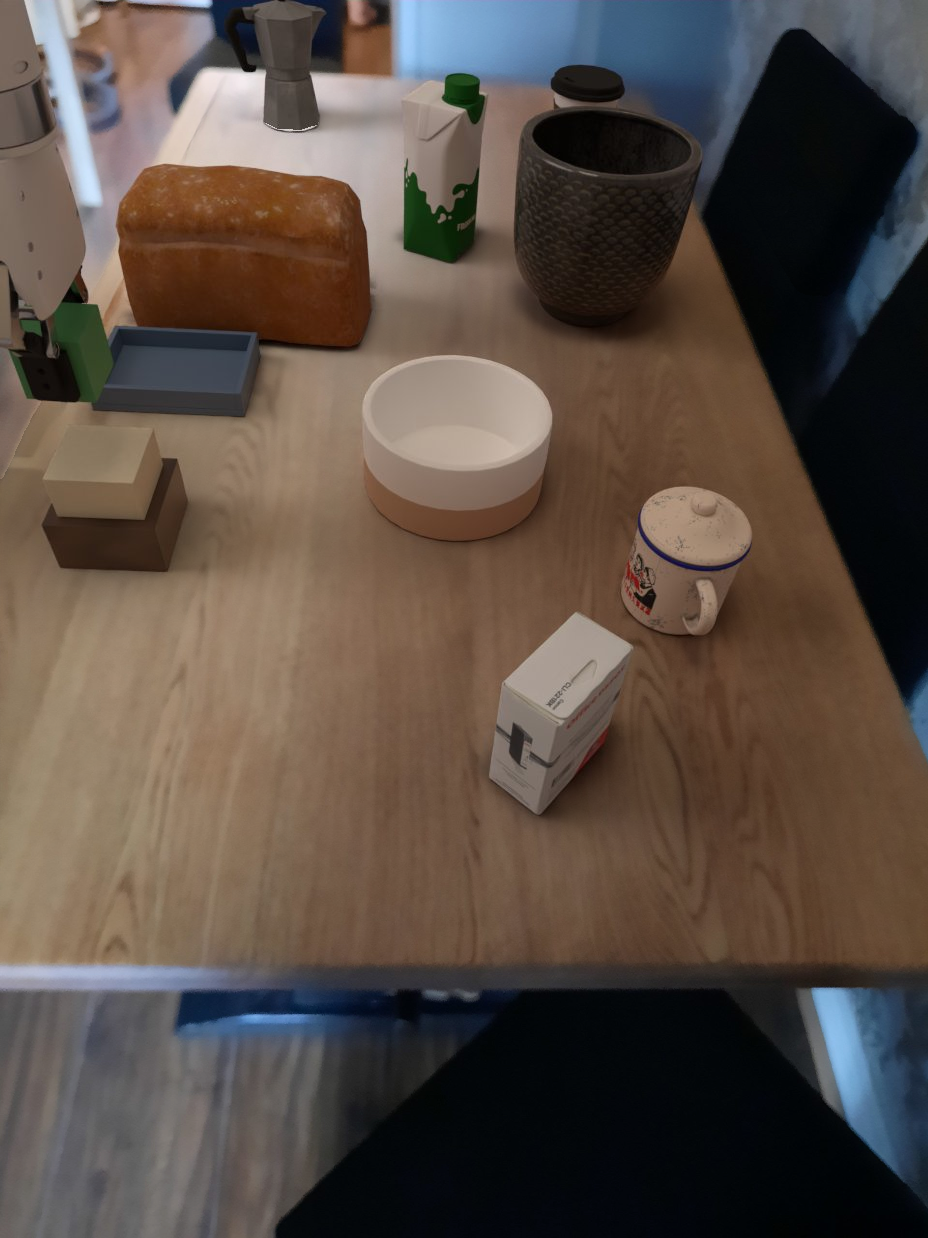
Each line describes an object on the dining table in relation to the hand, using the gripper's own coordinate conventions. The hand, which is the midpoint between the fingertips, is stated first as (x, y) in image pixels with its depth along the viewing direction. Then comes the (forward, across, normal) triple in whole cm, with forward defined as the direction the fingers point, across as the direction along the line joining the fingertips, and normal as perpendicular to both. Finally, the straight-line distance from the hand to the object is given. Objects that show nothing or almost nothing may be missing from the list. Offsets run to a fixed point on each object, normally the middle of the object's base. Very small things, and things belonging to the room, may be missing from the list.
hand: (69, 373), depth 63 cm
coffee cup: (+16, -85, +49) cm, 99 cm away
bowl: (+16, -9, +30) cm, 35 cm away
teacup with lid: (+16, +7, +49) cm, 52 cm away
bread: (+17, -37, +7) cm, 41 cm away
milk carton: (+16, -56, +28) cm, 64 cm away
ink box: (+16, +22, +37) cm, 46 cm away
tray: (+16, -23, +1) cm, 28 cm away
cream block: (+11, 0, 0) cm, 11 cm away
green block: (+1, 0, 0) cm, 1 cm away
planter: (+16, -43, +46) cm, 65 cm away
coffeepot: (+17, -94, +3) cm, 95 cm away
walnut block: (+16, 0, +1) cm, 16 cm away
